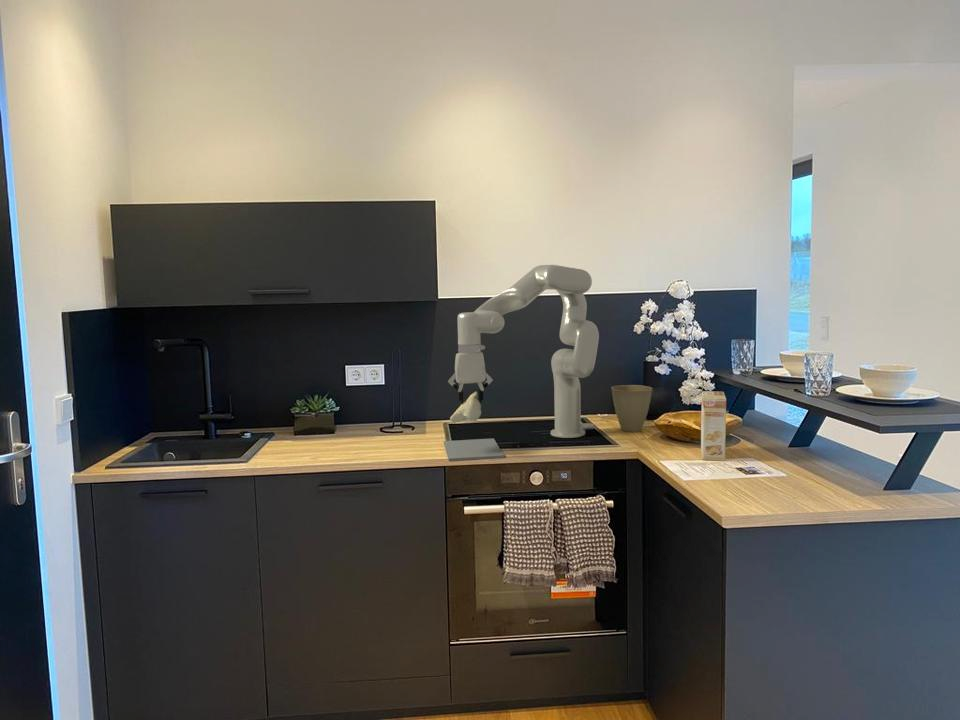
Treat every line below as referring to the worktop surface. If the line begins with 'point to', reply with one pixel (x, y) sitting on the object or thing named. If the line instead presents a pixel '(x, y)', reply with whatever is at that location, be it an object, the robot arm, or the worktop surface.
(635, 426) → the plant pot
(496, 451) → the mat
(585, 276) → the robot arm
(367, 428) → the worktop surface
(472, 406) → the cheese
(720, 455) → the coffeecake box
